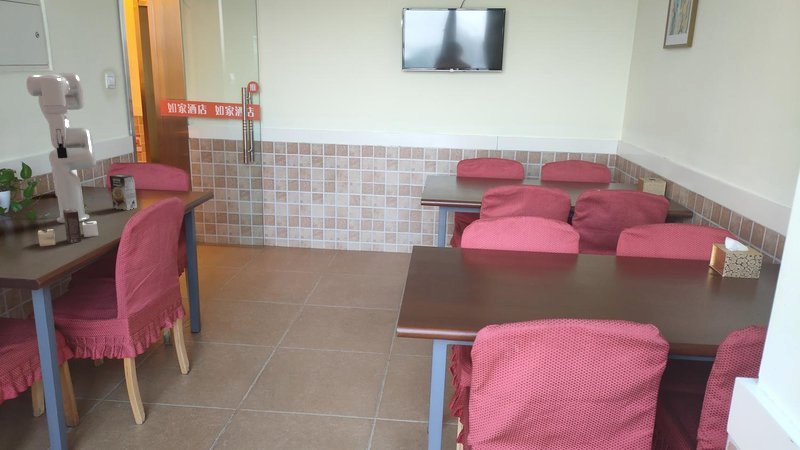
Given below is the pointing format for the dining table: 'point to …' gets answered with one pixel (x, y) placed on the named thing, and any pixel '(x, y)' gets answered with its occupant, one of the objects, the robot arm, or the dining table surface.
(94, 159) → the robot arm
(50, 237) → the birch digit block
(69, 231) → the box
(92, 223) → the offwhite digit block
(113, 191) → the coffee box
